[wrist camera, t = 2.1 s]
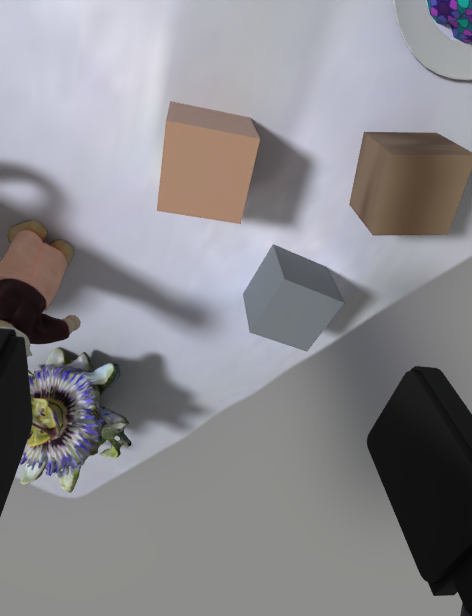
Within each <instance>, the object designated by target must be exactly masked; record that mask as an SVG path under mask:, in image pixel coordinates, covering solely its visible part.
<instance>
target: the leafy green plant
mask: <svg viewBox="0 0 472 616" xmlns="http://www.w3.org/2000/svg"><path fill="white" fill-rule="evenodd" d="M34 373H35V375H34V374H32V373H31V372H30V371H29V370H28V375H29V385H30V394H31V404H32V414H33V423H32V428H31V432H30V435H29V438H28V441H27V444H26V446H25V449H24V452H23V455H24V458H22V459H21V461H20V464H21V465H22V464H23V463H24V462H25V461H26V460H27V461H26V465H25V468H26V470H25V471H24V473H23V475H22V479H21V483H22V484H24V485H27V484H29V483H30V482H32V481H34V480H36V479H37V478H39V477H40V476H41V475H42V473H43V470H44V469H46V470H47V472H46V475H50V476H51V474H52V472H53V473H55V472H56V477H57V478H58V479H59V480H60V483H61V488H62V489H64V490H66V491H69V492H70V493H71V492H72V491H73V489H74V487H75V484H76V482H77V480H78V477H79V472H80V468H81V466H82V465H83V464H84V462H85V460H86V459H87V457H89V456H90V455H94V454H96V453H98V448H99V446H100V445H101V444H103V443H104V442H105V441H106V440H109V441H110V443H111V444H112V446H111V449H106V450H104V451H103V452H102V453H100V455H102V456H104V457H109V458H116V457H118V456H119V455H120V447H121V446H122V445H123V444H124V445H125V447H126V448H128V447H129V446H131V441H130V440H129V439H128V438H127V436H126V435H125V434H124V428H125V427H126V426H127V425H128V424H129V423H128V421H127V420H126V418H125V417H123V416H122V415H119V414H117V413H115V412H113V411H111V410H109V409H105V407H103V408H102V407H101V406H100V405H99V398H100V396H101V395H102V393H103V391H105V390H106V389H107V388H109V387H111V386H112V385H113V384H114V383H115V382H116V380H117V379H118V378H119V376H120V367H119V365H118V364H114V363H108V364H106V365H103V366H102V367H99V368H98V369H96V370H95V371H94V372H93V371H92V364H91V360H90V358H89V357H88V355H87V353H86V352H83V353H82V354H81V355H79V356H78V358H77V359H76V360H74V361H71V360H70V359H69V358H68V357H67V354H66V352H65V351H64V350H63V349H61V348H56V349H55V350H54V351H53V352H51V354H50V355H49V357H48V360H47V362H46V365H45V367H43V368H42V369H41V370H39V371H35V372H34ZM116 435H117V436H119V437H120V440H119V441H116V440H115V439H114V437H115V436H116Z"/></svg>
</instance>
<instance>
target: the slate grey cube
mask: <svg viewBox="0 0 472 616" xmlns="http://www.w3.org/2000/svg"><path fill="white" fill-rule="evenodd" d="M243 296H244V302H245V308H246V314H247V319H248V325H249V331H250V333H253V334H256V335H259V336H262V337H265V338H268V339H271V340H274V341H277V342H280V343H283V344H286V345H289V346H292V347H295V348H298V349H301V350H304V351H308V350H309V348H310V347H311V346H312V344H313V343H314V342H315V341H316V339H317V338H318V337H319V335H320V334H321V333H322V332H323V330H324V329H325V328H326V326H327V325H328V324H329V323H330V321H331V320H332V319H333V317H334V316H335V315H336V314H337V312H338V311H339V310H340V308H341V307H342V306H343V304H344V301H343V299H342V297H341V295H340V293H339V291H338V289H337V287H336V285H335V283H334V281H333V279H332V277H331V275H330V273H329V271H328V269H327V267H325V266H323V265H321V264H318V263H316V262H314V261H311V260H309V259H306V258H304V257H302V256H299V255H297V254H295V253H292V252H290V251H288V250H285V249H283V248H281V247H278V246H276V245H272V247H271V248H270V250H269V252H268V253H267V255H266V257H265V258H264V260H263V262H262V263H261V265H260V267H259V268H258V270H257V272H256V273H255V275H254V277H253V278H252V280H251V282H250V283H249V285H248V287H247V288H246V290H245V292H244V293H243Z"/></svg>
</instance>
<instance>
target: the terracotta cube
mask: <svg viewBox="0 0 472 616" xmlns="http://www.w3.org/2000/svg"><path fill="white" fill-rule="evenodd" d="M259 142H260V138H259V135H258V133H257V131H256V129H255V127H254V125H253V123H252V121H251V119H250V118H249V117H244V116H239V115H235V114H230V113H225V112H220V111H215V110H210V109H205V108H200V107H196V106H191V105H186V104H181V103H176V102H171V101H170V105H169V110H168V115H167V119H166V128H165V138H164V147H163V157H162V167H161V177H160V187H159V196H158V206H157V211H162V212H168V213H174V214H181V215H187V216H194V217H200V218H206V219H213V220H219V221H226V222H232V223H238V224H241V220H242V216H243V211H244V207H245V203H246V198H247V194H248V190H249V185H250V181H251V177H252V172H253V168H254V164H255V159H256V155H257V151H258V146H259Z"/></svg>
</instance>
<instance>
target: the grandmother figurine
mask: <svg viewBox="0 0 472 616" xmlns="http://www.w3.org/2000/svg"><path fill="white" fill-rule="evenodd" d="M46 237H47V231H46V229H45V227H44V226H43V225H42V224H41V223H39V222H38V221H34V220H30V221H27V222H24V223H21V224H18V225H16V226H13V227H11V228H10V229H9V231H8V239H9V242H10V243H11V244H10V246H9V248H8V250H7V252H6V254H5V256H4V257H3V259H2V261H1V263H0V328H5V329H13V330H15V332H16V336H19V337H24V339H25V345H26V355H27V357H28V356H32V354H31V351H30V344H47V343H53V342H56V341H60V340H64V339H67V338H68V337H69V335H70V333H71V332H72V331H74V330H77V329H78V328H79V327H80V320H79V318H78V317H77V316H75V315H70V316H67V317H66V318H65V319H62V320H60V319H56V318H53V317H50V316H48V315H46V314H43V313H42V312H44V311H45V310H46V309H47V308H48V307H49V305H50V304H51V302H52V300H53V299H54V297H55V295H56V293H57V291H58V289H59V287H60V285H61V281H62V278H63V275H64V272H65V269H66V267H67V266H68V264H69V262H70V260H71V258H72V256H73V254H74V249H73V247H72V246H71V245H70V244H69V243H67V242H65V241H63V240H56V241H54V242H53V243H51V244H50V245H48V244H46V243H44V242H42V241H43V240H44V239H45V238H46Z"/></svg>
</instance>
